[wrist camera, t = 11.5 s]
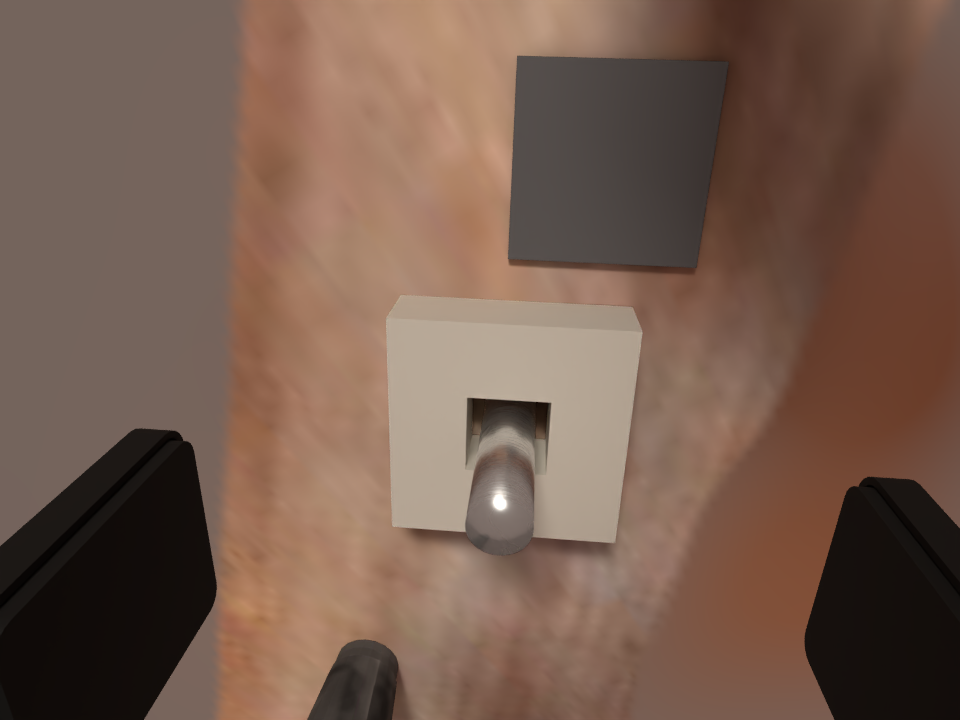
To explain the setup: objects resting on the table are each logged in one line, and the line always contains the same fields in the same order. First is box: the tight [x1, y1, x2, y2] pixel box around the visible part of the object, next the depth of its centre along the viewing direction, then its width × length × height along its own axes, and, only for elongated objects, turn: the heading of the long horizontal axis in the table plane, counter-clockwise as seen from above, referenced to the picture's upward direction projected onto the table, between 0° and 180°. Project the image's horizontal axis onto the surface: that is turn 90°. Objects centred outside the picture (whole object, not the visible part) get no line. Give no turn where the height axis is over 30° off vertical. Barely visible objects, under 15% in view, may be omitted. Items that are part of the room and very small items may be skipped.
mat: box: [508, 56, 729, 268], centre depth 34 cm, size 10×10×1 cm
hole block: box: [386, 295, 643, 543], centre depth 38 cm, size 13×13×4 cm
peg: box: [465, 399, 536, 555], centre depth 35 cm, size 3×3×12 cm
